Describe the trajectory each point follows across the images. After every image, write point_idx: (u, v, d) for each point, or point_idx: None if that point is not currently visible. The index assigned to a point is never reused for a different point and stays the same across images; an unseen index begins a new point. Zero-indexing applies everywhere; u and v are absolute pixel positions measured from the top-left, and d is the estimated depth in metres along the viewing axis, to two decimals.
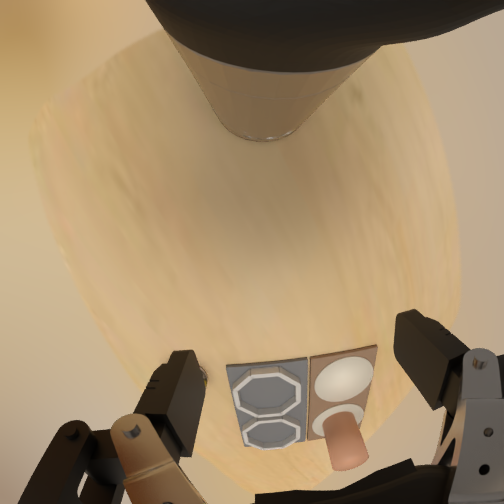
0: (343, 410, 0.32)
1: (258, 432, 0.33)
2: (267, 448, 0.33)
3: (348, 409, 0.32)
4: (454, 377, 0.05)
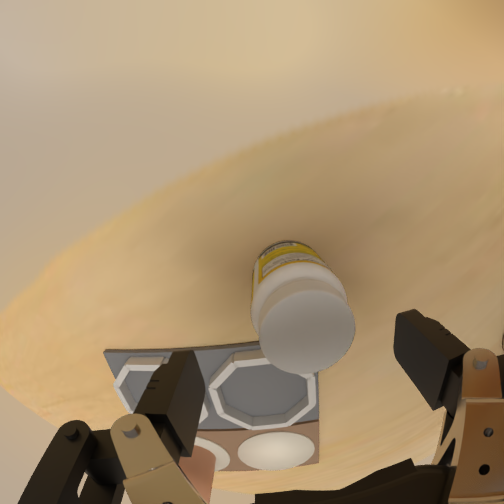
0: (218, 458, 0.23)
1: None
2: (119, 391, 0.20)
3: (219, 461, 0.23)
4: (454, 377, 0.05)
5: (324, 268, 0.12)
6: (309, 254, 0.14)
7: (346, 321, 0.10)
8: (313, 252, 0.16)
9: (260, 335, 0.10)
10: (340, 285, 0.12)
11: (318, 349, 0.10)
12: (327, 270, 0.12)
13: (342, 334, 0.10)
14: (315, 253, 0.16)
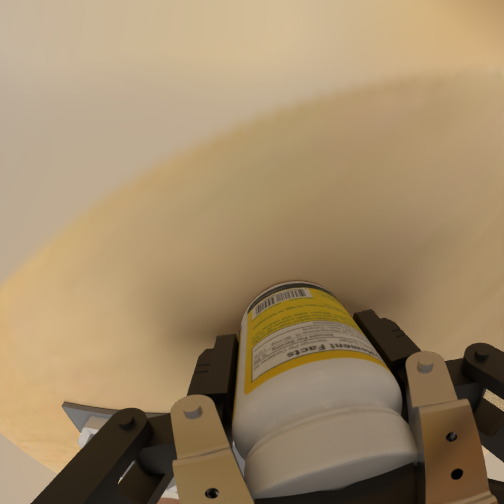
0: None
1: None
2: None
3: None
4: (399, 378, 0.06)
5: (373, 366, 0.05)
6: (337, 322, 0.07)
7: None
8: (339, 307, 0.09)
9: None
10: (397, 391, 0.05)
11: None
12: (378, 369, 0.05)
13: None
14: (341, 307, 0.09)
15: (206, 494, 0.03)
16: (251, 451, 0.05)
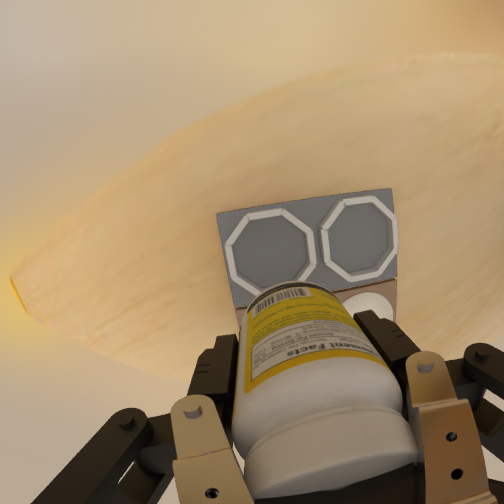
0: None
1: (263, 233, 0.26)
2: (230, 252, 0.25)
3: None
4: (399, 378, 0.06)
5: (373, 365, 0.05)
6: (337, 321, 0.07)
7: None
8: (339, 306, 0.09)
9: None
10: (398, 390, 0.05)
11: None
12: (379, 368, 0.05)
13: None
14: (341, 306, 0.09)
15: (206, 494, 0.03)
16: (251, 450, 0.05)
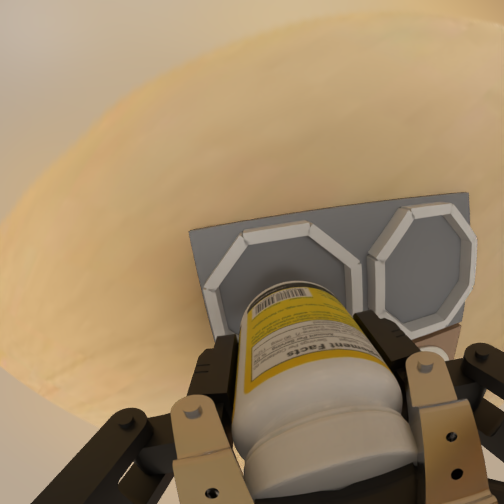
0: None
1: (273, 265, 0.14)
2: (213, 301, 0.14)
3: None
4: (399, 378, 0.06)
5: (373, 365, 0.05)
6: (337, 321, 0.07)
7: None
8: (339, 307, 0.09)
9: None
10: (398, 390, 0.05)
11: None
12: (379, 369, 0.05)
13: None
14: (341, 306, 0.09)
15: (206, 494, 0.03)
16: (251, 451, 0.05)
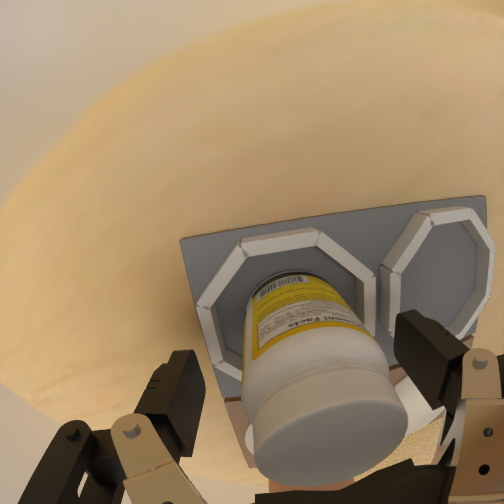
0: None
1: None
2: (207, 320, 0.12)
3: None
4: (454, 377, 0.05)
5: (361, 334, 0.07)
6: (331, 301, 0.09)
7: (396, 427, 0.05)
8: (333, 291, 0.10)
9: (256, 458, 0.05)
10: (383, 358, 0.07)
11: (347, 463, 0.05)
12: (365, 337, 0.07)
13: (386, 442, 0.05)
14: (335, 291, 0.11)
15: None
16: (259, 407, 0.06)
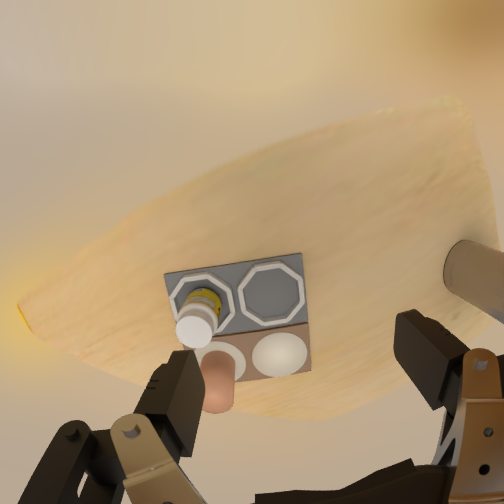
0: (237, 364, 0.37)
1: None
2: (173, 303, 0.34)
3: (238, 368, 0.37)
4: (454, 377, 0.05)
5: (204, 305, 0.29)
6: (204, 297, 0.31)
7: (207, 328, 0.27)
8: (210, 294, 0.32)
9: None
10: (211, 312, 0.29)
11: (198, 338, 0.27)
12: (205, 306, 0.29)
13: (206, 333, 0.27)
14: (212, 294, 0.33)
15: None
16: None
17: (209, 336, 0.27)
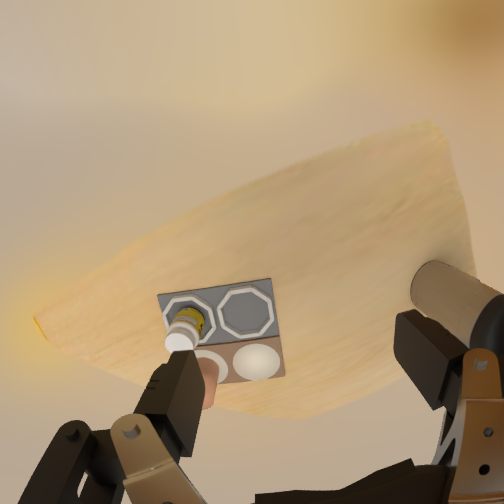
0: (220, 369, 0.43)
1: None
2: (165, 318, 0.40)
3: (221, 372, 0.44)
4: (454, 377, 0.05)
5: (187, 323, 0.35)
6: (188, 316, 0.37)
7: (188, 342, 0.33)
8: (194, 313, 0.39)
9: (165, 344, 0.33)
10: (193, 329, 0.35)
11: None
12: (188, 324, 0.35)
13: (188, 346, 0.33)
14: (196, 313, 0.39)
15: None
16: None
17: (191, 348, 0.33)
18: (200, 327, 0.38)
